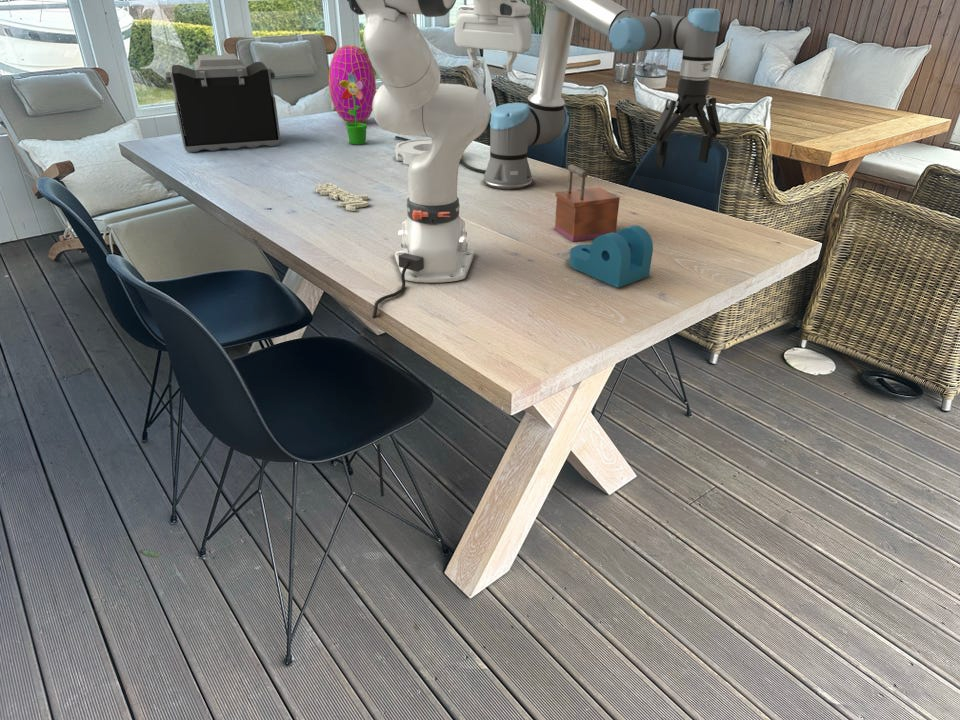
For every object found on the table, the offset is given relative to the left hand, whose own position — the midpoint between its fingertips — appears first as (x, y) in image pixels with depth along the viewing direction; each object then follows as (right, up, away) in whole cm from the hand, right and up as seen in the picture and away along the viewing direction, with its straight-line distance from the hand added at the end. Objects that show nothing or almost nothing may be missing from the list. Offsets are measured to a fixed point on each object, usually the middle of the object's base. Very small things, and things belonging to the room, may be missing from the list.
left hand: (491, 69), depth 166 cm
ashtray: (-21, +1, +78) cm, 80 cm away
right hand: (+51, -19, +15) cm, 56 cm away
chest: (+25, -37, +14) cm, 46 cm away
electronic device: (-96, +11, +93) cm, 134 cm away
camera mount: (+26, -50, -8) cm, 56 cm away
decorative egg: (-56, +31, +127) cm, 142 cm away
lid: (+25, -29, +9) cm, 39 cm away
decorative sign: (-43, -22, +37) cm, 61 cm away
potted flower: (-49, +12, +96) cm, 108 cm away
